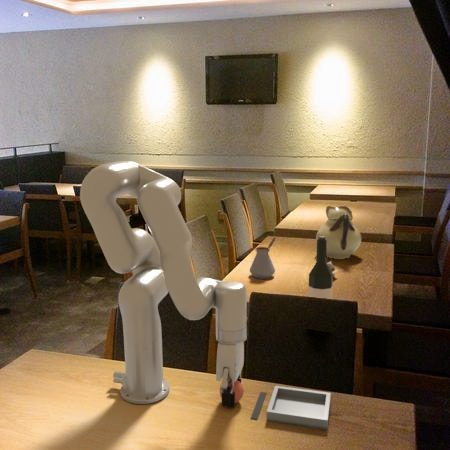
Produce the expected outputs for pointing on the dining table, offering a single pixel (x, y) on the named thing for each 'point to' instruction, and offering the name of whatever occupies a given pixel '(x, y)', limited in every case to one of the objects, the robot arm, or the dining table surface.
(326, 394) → the tray
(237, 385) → the ball
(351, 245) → the white drawstring sack
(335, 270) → the architectural model
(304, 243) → the dining table surface
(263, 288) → the dining table surface
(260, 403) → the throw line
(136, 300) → the robot arm
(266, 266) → the coffee pot
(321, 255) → the wine bottle
